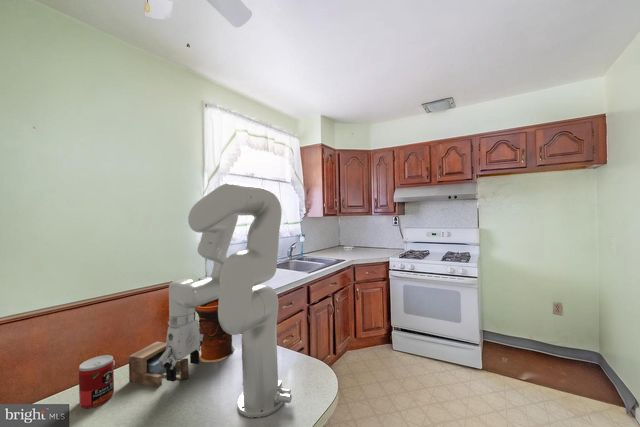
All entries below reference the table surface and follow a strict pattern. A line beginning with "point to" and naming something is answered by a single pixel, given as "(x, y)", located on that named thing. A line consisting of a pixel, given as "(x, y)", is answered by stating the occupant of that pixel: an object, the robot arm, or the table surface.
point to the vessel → (213, 334)
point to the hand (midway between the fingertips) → (183, 371)
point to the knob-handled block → (156, 368)
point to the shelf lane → (140, 365)
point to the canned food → (96, 381)
